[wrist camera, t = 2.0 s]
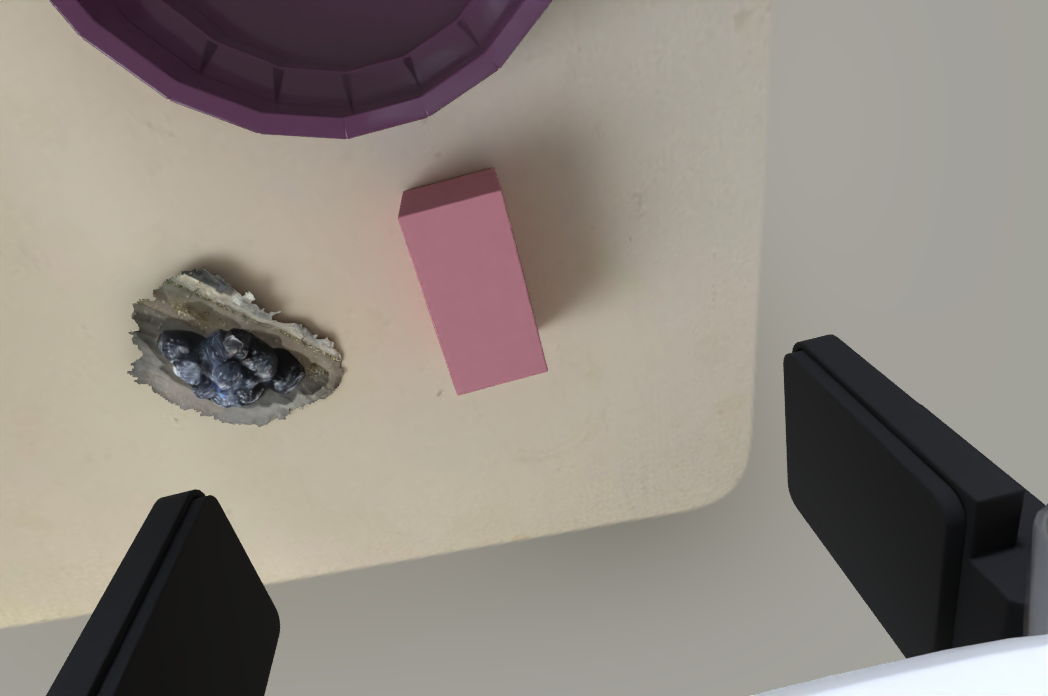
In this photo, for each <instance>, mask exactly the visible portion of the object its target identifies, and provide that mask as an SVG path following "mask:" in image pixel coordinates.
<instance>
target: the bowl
mask: <svg viewBox="0 0 1048 696" xmlns="http://www.w3.org/2000/svg"><path fill="white" fill-rule="evenodd" d="M49 1H50V2H51V3H52V4H53V6H54V7H55V8H56V9H57V10H58V11H59V13H60V14H61V15H62V16H63V17H64V18H65V20H66V21H67V22H68V23H69V24H70V25H71V27H72V28H73V29H74V30H75V31H76V32H77V34H78V35H80V36H82V38H83V39H84V40H85V41H87V42H88V43H89V44H91V45H92V46H94V47H95V48H96V49H98V50H99V51H101V52H102V53H103V54H105V55H106V56H108V57H109V58H110V59H112V60H113V61H115V62H116V63H117V64H119V65H120V66H122V67H123V68H124V69H126V70H127V71H129V72H130V73H131V74H133V75H134V76H136V77H137V78H138V79H140V80H141V81H142V82H144V83H145V84H147V85H148V86H149V87H151V88H152V89H154V90H155V91H156V92H158V93H159V94H161V95H162V96H163V97H165V98H166V99H170V101H172V102H175V103H177V104H180V105H183V106H185V107H188V108H191V109H193V110H196V111H199V112H201V113H204V114H207V115H210V116H212V117H215V118H218V119H220V120H223V121H226V122H228V123H231V124H234V125H236V126H239V127H242V128H245V129H247V130H250V131H253V132H255V133H260V134H267V135H284V136H300V137H317V138H334V139H350V138H354V137H358V136H361V135H365V134H369V133H372V132H376V131H380V130H384V129H387V128H391V127H395V126H398V125H402V124H406V123H410V122H413V121H417V120H421V119H424V118H427V117H428V116H431V115H433V114H434V113H436V112H437V111H438V110H440V109H441V108H443V107H444V106H446V105H447V104H449V103H450V102H452V101H453V100H455V99H456V98H458V97H459V96H461V95H462V94H464V93H465V92H467V91H468V90H469V89H471V88H472V87H474V86H475V85H477V84H478V83H480V82H481V81H483V80H484V79H486V78H487V77H489V76H490V75H492V74H493V73H495V72H496V71H497V70H498V68H501V67H502V65H503V64H504V63H505V61H506V60H507V59H508V58H509V56H510V55H511V54H512V52H513V51H514V50H515V48H516V47H517V46H518V45H519V43H520V42H521V41H522V39H523V38H524V37H525V35H526V34H527V33H528V32H529V30H530V29H531V28H532V26H533V25H534V24H535V22H536V21H537V20H538V19H539V17H540V16H541V15H542V13H543V12H544V11H545V9H546V8H547V7H548V6H549V4H550V3H551V2H552V0H49Z"/></svg>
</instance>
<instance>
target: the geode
mask: <svg viewBox="0 0 1048 696" xmlns="http://www.w3.org/2000/svg"><path fill="white" fill-rule="evenodd" d="M166 281H167V282H166ZM166 281H165V283H163V284H164V285H163V286H162V287H159V289H157V290H153V297H156V300H155V301H150V300H149V299H142V300H143V301H141V300H140V299H139V300H140V302H137V304H136V303H135V304H133V307H134V313H132V319H134V320H135V322H136V323H137V324H138V326H139V328H140V329H139V331H134V332H132V331H131V332H128V333H130V334H131V335H134V337H133V338H132V341H133V344H135V345H138V349H139V350H142V352H143V356H142V357H141V358H140V359H139V360H136V361H135V362H134V363H131V365H133V366H134V369H132V371H127V374H129V373H130V375H133V377H138V379H137V380H134V381H135V382H137V383H138V384H149V386H152V390H153V392H154V393H158V394H160V396H163V398H165V399H166V400H168V402H170V403H171V404H175V405H178V406H180V408H181V409H183V410H187V409H194V410H196V411H197V412H199V411H201V412H202V413H201V414H200V416H211V415H214V419H215V420H217V419H219V421H222V423H224V422H227V423H231V424H239V425H240V424H248V425H251V424H255V425H258V427H260V426H264V425H266V424H268V423H269V422H270V421H272V420H273V419H276V418H278V419H279V420H281V419H286V417H285V416H287V415H288V414H291V413H289V409H290V408H291V409H296V408H299V409H303V405H304V404H311V403H312V402H315V401H317V400H318V399H325V398H327V397H328V396H329V395H331V394H332V393H333V391H335V390H334V389H335V388H337V386H339V382H340V380H341V379H340V375H342V374H344V372H342V368H340V362H341V361H342V359H341V354H339V352H338V353H337V349H334V342H331V341H329V340H328V337H326V338H325V339H316V337H317V336H318V335H317V334H315V335H312V334H311V333H309V331H308V330H307V329H306V327H305V328H302V324H296V323H282V322H281V323H280V322H277V320H275V321H273V320H272V317H271V316H273V315H275V314H278V313H279V312H282V311H278V312H272V311H270V313H269V314H266V312H264V309H265V308H263V309H262V310H259V307H258V306H257V305H255V304H251V302H252V301H253V300H255V298H254V297H253V295H252V294H251V293H250V291H249V293H246V292H245V295H244V296H241V294H238V292H236V290H235V288H231V284H230V283H226V281H223V277H222V276H221V275H220V274H218V273H217V274H210V272H208V270H205V268H203V269H201V271H197V272H196V269H193V271H184V272H183V271H182V273H181V274H180V275H179V276H177V275H176V276H175V278H173V277H172V278H171V279H169V280H167V279H166ZM212 403H213V404H212ZM210 404H212V405H210ZM215 404H216V405H215Z"/></svg>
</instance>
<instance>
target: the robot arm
mask: <svg viewBox="0 0 1048 696" xmlns="http://www.w3.org/2000/svg"><path fill="white" fill-rule="evenodd" d="M783 364H784V365H783V366H784V390H785V391H784V393H785V417H786V418H785V419H786V443H787V444H786V445H787V473H788V488H789V492H790V495H791V498H792V500H793V502H794V504H795V506H796V507H797V509H798V510H799V511H800V513H801V514H802V516H803V517H804V518H805V520H806V521H807V523H808V524H809V525H810V526H811V528H812V529H813V531H814V532H815V534H816V535H817V536H818V537H819V539H820V540H821V542H822V543H823V545H824V546H825V547H826V549H827V550H828V551H829V552H830V554H831V556H832V557H833V558H834V560H835V561H836V562H837V564H838V565H839V566H840V568H841V569H842V571H843V572H844V573H845V575H846V576H847V578H848V579H849V580H850V582H851V583H852V584H853V586H854V587H855V589H856V590H857V591H858V593H859V594H860V595H861V597H862V598H863V600H864V601H865V602H866V604H867V605H868V606H869V608H870V609H871V611H873V613H874V615H875V616H876V617H877V619H878V620H879V622H880V623H881V624H882V626H883V627H884V628H885V630H886V631H887V632H888V634H889V635H890V637H891V638H892V639H893V641H894V642H895V644H896V645H897V646H898V648H899V649H900V650H901V652H902V653H903V655H904V656H905V657H906V659H903V660H898V661H894V662H889V663H885V664H881V665H876V666H872V667H867V668H863V669H858V670H854V671H849V672H845V673H840V674H836V675H832V676H828V677H823V678H819V679H815V680H811V681H807V682H803V683H799V684H795V685H791V686H786V687H782V688H778V689H774V690H770V691H766V692H762V693H758V694H754V695H749V696H1048V504H1047V505H1044V504H1043V503H1042V502H1041V501H1040V500H1038V499H1037V498H1036V497H1035V496H1034V495H1032V494H1031V493H1030V492H1029V491H1027V490H1026V489H1025V488H1024V487H1022V486H1021V485H1020V484H1019V483H1017V482H1016V481H1015V480H1013V478H1011V477H1010V476H1009V475H1007V474H1006V473H1005V472H1004V471H1003V470H1001V469H1000V468H999V467H998V466H997V465H995V464H994V463H993V462H992V461H990V460H989V459H988V458H987V457H985V456H984V455H983V454H982V453H981V452H979V451H978V450H977V449H976V448H974V447H973V446H972V445H971V444H969V443H968V442H967V441H966V440H964V439H963V438H962V437H961V436H960V435H958V434H957V433H956V432H955V431H953V430H952V429H951V428H950V427H948V426H947V425H946V424H945V423H943V422H942V421H941V420H940V419H939V418H937V417H936V416H935V415H934V414H932V413H931V412H930V411H929V410H928V409H926V408H925V407H924V406H923V405H921V404H919V403H918V402H916V401H915V400H914V399H913V398H911V397H910V396H909V395H908V394H906V393H905V392H904V391H903V390H902V389H900V388H899V387H898V386H897V385H895V384H894V383H893V382H892V381H891V380H889V379H888V378H887V377H886V376H884V375H883V374H882V373H881V372H879V371H878V370H877V369H876V368H875V367H873V366H872V365H871V364H869V363H868V362H867V361H866V360H865V359H863V358H862V357H861V356H860V355H859V354H857V353H856V352H855V351H854V350H852V349H851V348H850V347H849V346H847V345H846V344H845V343H844V342H843V341H841V340H840V339H839V338H838V337H836V336H834V335H825V336H821V337H817V338H813V339H809V340H805V341H801V342H797V343H796V344H795V345H794V347H793V351H792V353H789V354H786V355H785V357H784V363H783ZM279 633H280V621H279V615H278V612H277V610H276V608H275V606H274V604H273V602H272V600H271V598H270V596H269V595H268V593H267V591H266V589H265V587H264V585H263V583H262V582H261V580H260V578H259V576H258V574H257V572H256V570H255V569H254V567H253V565H252V563H251V561H250V559H249V557H248V556H247V554H246V552H245V550H244V548H243V546H242V544H241V543H240V541H239V539H238V537H237V535H236V533H235V531H234V530H233V528H232V526H231V524H230V522H229V520H228V518H227V517H226V515H225V513H224V511H223V509H222V507H221V505H220V504H219V502H218V500H217V499H216V498H215V497H214V496H211V495H209V496H205V494H204V493H203V492H201V491H200V490H196V489H195V490H191V491H187V492H183V493H179V494H175V495H171V496H166V497H163V498H160V499H158V500H157V501H156V503H155V504H154V506H153V508H152V509H151V511H150V513H149V515H148V516H147V518H146V520H145V522H144V523H143V525H142V527H141V529H140V531H139V532H138V534H137V536H136V538H135V539H134V541H133V543H132V545H131V546H130V548H129V550H128V552H127V553H126V555H125V557H124V559H123V561H122V562H121V564H120V566H119V568H118V569H117V571H116V573H115V575H114V576H113V578H112V580H111V582H110V584H109V585H108V587H107V589H106V591H105V592H104V594H103V596H102V598H101V599H100V601H99V603H98V605H97V607H96V608H95V610H94V612H93V614H92V615H91V617H90V619H89V621H88V622H87V624H86V626H85V628H84V630H83V631H82V633H81V635H80V637H79V639H78V640H77V642H76V644H75V645H74V647H73V649H72V651H71V653H70V654H69V656H68V658H67V660H66V661H65V663H64V665H63V667H62V668H61V670H60V672H59V674H58V676H57V677H56V679H55V681H54V683H53V684H52V686H51V688H50V690H49V692H48V693H47V695H46V696H264V694H265V690H266V686H267V682H268V678H269V674H270V670H271V666H272V662H273V658H274V654H275V650H276V646H277V642H278V637H279Z"/></svg>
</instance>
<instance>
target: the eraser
mask: <svg viewBox="0 0 1048 696" xmlns="http://www.w3.org/2000/svg"><path fill="white" fill-rule="evenodd" d="M398 220H399V223H400V226H401V229H402V232H403V235H404V238H405V241H406V244H407V247H408V250H409V253H410V256H411V259H412V262H413V265H414V268H415V271H416V274H417V277H418V280H419V283H420V286H421V289H422V292H423V295H424V298H425V301H426V304H427V307H428V310H429V313H430V316H431V319H432V322H433V325H434V328H435V331H436V334H437V337H438V340H439V343H440V346H441V349H442V352H443V355H444V357H445V360H446V363H447V366H448V369H449V372H450V375H451V378H452V381H453V384H454V387H455V390H456V393H457V395H461V394H465V393H469V392H472V391H476V390H480V389H484V388H487V387H491V386H495V385H499V384H502V383H506V382H510V381H514V380H517V379H521V378H525V377H529V376H532V375H536V374H540V373H544V372H547V371H548V368H547V364H546V360H545V356H544V353H543V349H542V345H541V341H540V337H539V333H538V329H537V325H536V321H535V317H534V314H533V310H532V306H531V302H530V298H529V294H528V290H527V286H526V282H525V278H524V274H523V271H522V267H521V263H520V259H519V255H518V251H517V247H516V243H515V239H514V235H513V232H512V228H511V224H510V220H509V216H508V212H507V208H506V204H505V200H504V196H503V193H502V189H501V186H500V183H499V181H498V178H497V175H496V172H495V169H494V168H490V169H486V170H483V171H479V172H475V173H471V174H468V175H464V176H460V177H457V178H453V179H449V180H445V181H442V182H438V183H434V184H430V185H427V186H423V187H419V188H416V189H412V190H408V191H404V192H403V195H402V200H401V205H400V210H399V215H398Z"/></svg>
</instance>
